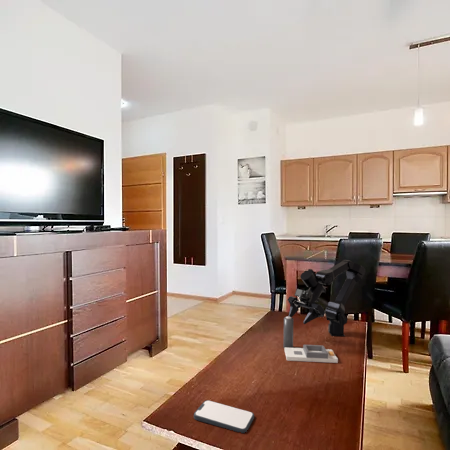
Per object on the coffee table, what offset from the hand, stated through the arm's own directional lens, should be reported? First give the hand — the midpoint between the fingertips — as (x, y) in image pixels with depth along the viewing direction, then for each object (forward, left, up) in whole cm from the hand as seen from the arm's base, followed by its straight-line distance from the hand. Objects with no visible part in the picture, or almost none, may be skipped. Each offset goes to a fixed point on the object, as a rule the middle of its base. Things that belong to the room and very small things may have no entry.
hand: (296, 320), depth 144 cm
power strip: (-4, +11, -11) cm, 17 cm away
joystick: (+4, +3, -11) cm, 12 cm away
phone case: (+28, +56, -12) cm, 64 cm away
